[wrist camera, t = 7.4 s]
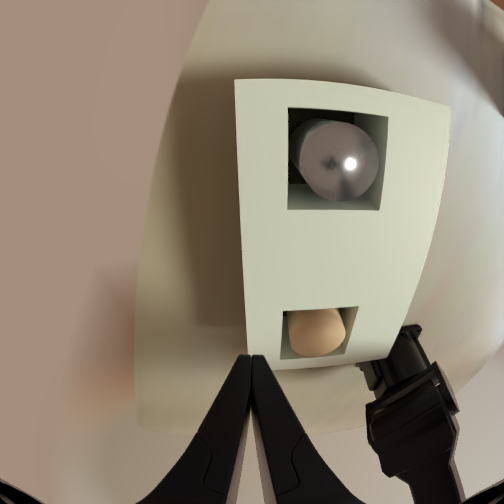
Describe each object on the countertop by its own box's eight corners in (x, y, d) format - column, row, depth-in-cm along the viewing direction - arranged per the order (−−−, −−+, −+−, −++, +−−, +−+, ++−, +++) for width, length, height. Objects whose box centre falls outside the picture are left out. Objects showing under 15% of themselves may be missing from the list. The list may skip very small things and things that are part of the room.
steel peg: (349, 120, 15) (381, 126, 11) (346, 178, 17) (374, 202, 13) (288, 117, 15) (302, 119, 11) (288, 177, 17) (300, 201, 13)
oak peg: (334, 276, 21) (350, 316, 17) (327, 313, 23) (339, 353, 19) (285, 278, 21) (292, 320, 17) (283, 316, 23) (288, 358, 19)
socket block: (408, 103, 15) (451, 108, 10) (370, 319, 25) (386, 357, 20) (239, 88, 15) (234, 79, 10) (249, 327, 25) (249, 370, 20)
